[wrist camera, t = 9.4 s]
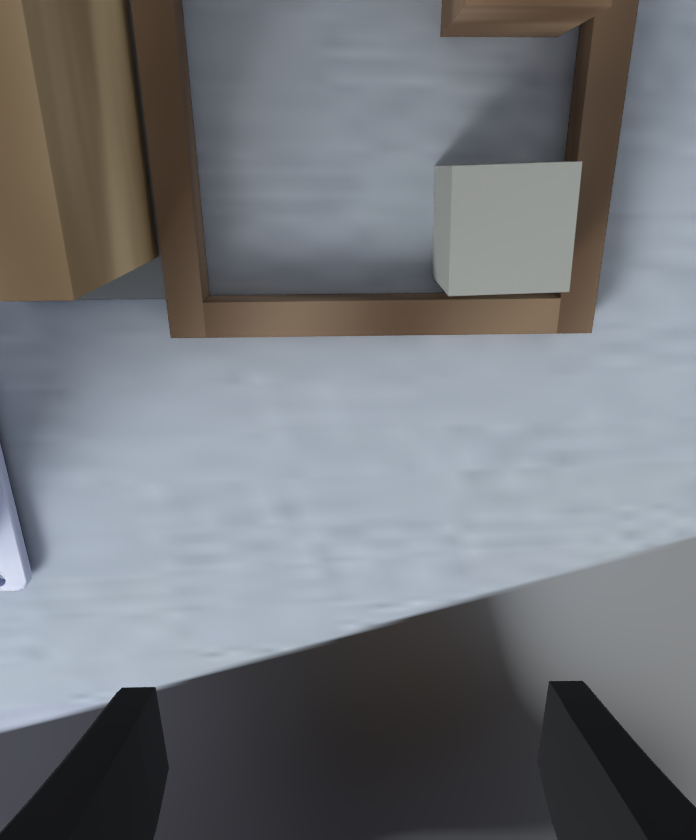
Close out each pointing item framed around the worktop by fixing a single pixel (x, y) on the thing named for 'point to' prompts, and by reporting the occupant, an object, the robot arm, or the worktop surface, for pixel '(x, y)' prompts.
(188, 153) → the frame
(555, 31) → the offcut dark
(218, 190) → the worktop surface
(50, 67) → the oak board
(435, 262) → the offcut grey
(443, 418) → the worktop surface
